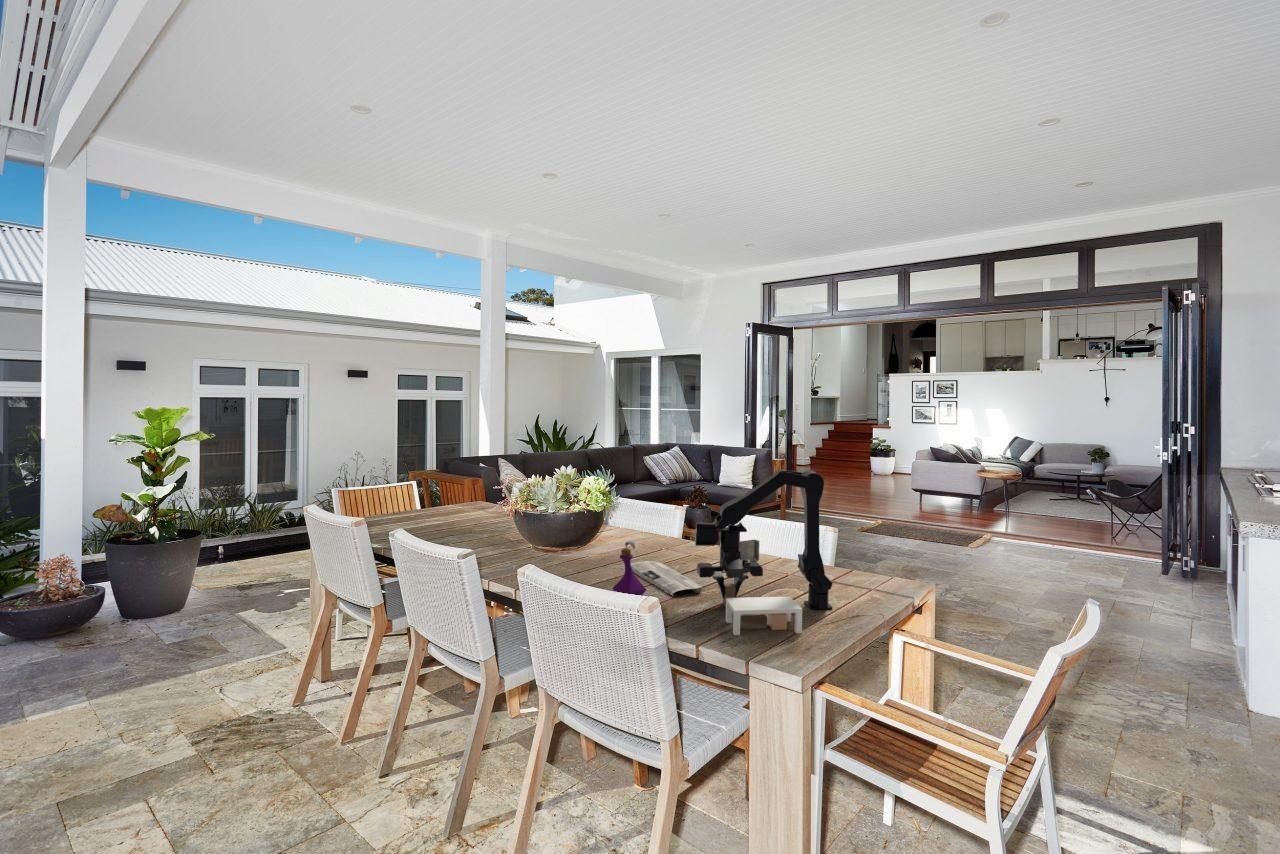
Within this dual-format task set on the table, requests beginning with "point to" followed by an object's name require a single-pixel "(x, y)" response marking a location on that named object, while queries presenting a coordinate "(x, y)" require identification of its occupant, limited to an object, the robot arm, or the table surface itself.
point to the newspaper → (665, 577)
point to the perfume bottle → (629, 575)
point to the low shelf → (762, 609)
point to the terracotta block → (777, 621)
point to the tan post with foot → (745, 620)
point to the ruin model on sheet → (749, 550)
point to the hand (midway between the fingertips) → (729, 598)
